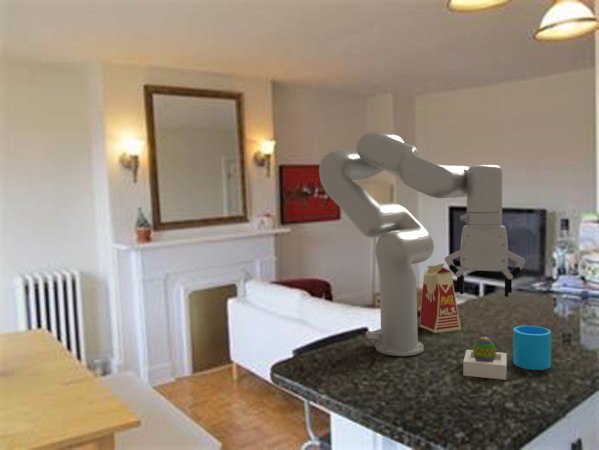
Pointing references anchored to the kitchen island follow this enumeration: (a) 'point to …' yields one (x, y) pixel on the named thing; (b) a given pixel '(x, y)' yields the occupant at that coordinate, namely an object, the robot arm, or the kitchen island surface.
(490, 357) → the egg
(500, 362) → the square tray
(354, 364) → the kitchen island surface
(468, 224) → the robot arm
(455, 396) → the kitchen island surface
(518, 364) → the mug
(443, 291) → the milk carton
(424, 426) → the kitchen island surface
